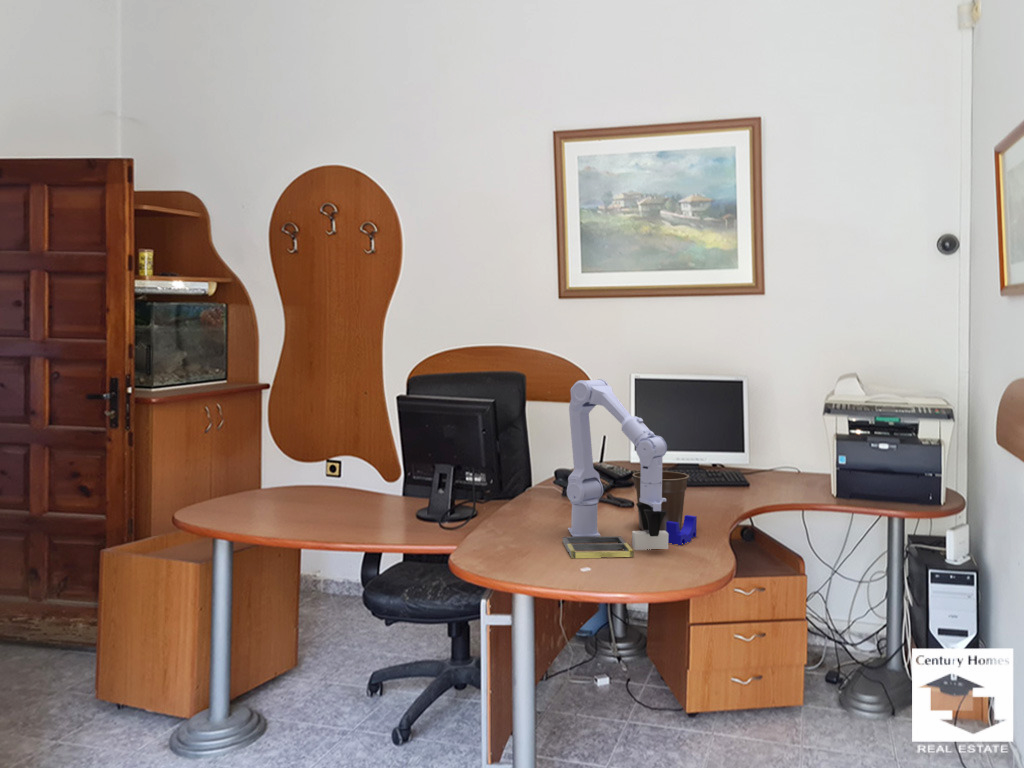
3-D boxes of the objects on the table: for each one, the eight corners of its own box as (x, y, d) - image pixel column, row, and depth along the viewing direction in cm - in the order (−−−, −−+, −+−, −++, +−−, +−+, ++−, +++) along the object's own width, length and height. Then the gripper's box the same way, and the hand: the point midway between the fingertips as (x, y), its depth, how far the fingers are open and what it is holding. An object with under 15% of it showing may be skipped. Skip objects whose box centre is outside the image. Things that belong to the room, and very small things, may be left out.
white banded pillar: (631, 547, 237) (632, 530, 237) (664, 547, 238) (665, 530, 238) (634, 550, 234) (635, 533, 233) (668, 550, 234) (668, 533, 234)
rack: (562, 542, 242) (562, 535, 242) (620, 541, 243) (620, 535, 243) (571, 558, 225) (571, 551, 225) (633, 557, 226) (633, 550, 226)
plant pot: (622, 525, 264) (623, 471, 263) (670, 521, 269) (671, 469, 268) (647, 537, 248) (648, 480, 247) (698, 533, 253) (699, 477, 252)
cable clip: (680, 546, 239) (681, 524, 239) (666, 543, 242) (666, 522, 241) (701, 538, 248) (701, 517, 248) (686, 535, 251) (687, 515, 251)
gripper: (673, 486, 228) (672, 538, 229) (659, 477, 242) (658, 526, 243) (646, 487, 227) (645, 539, 228) (634, 477, 242) (633, 526, 243)
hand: (650, 532), depth 236 cm, fingers open, 7 cm apart
